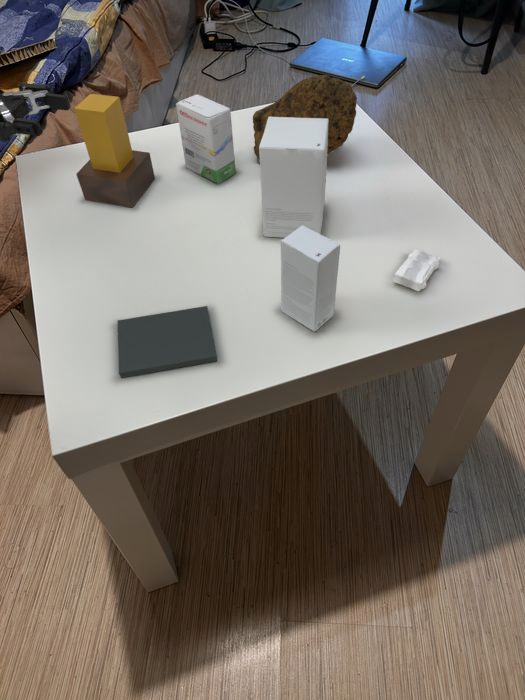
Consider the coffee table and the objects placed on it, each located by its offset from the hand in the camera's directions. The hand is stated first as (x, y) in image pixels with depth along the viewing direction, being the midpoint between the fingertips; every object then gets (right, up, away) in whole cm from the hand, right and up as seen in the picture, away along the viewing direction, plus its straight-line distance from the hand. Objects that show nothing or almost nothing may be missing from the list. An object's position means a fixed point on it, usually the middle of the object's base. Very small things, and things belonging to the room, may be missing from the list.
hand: (54, 115), depth 83 cm
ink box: (+24, -5, +11) cm, 27 cm away
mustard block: (+8, -6, +4) cm, 11 cm away
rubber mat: (+21, -36, -15) cm, 45 cm away
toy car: (+55, -27, -8) cm, 62 cm away
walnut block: (+8, -9, +7) cm, 15 cm away
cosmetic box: (+39, -33, -13) cm, 52 cm away
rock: (+40, -2, +13) cm, 42 cm away
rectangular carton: (+38, -17, 0) cm, 42 cm away
